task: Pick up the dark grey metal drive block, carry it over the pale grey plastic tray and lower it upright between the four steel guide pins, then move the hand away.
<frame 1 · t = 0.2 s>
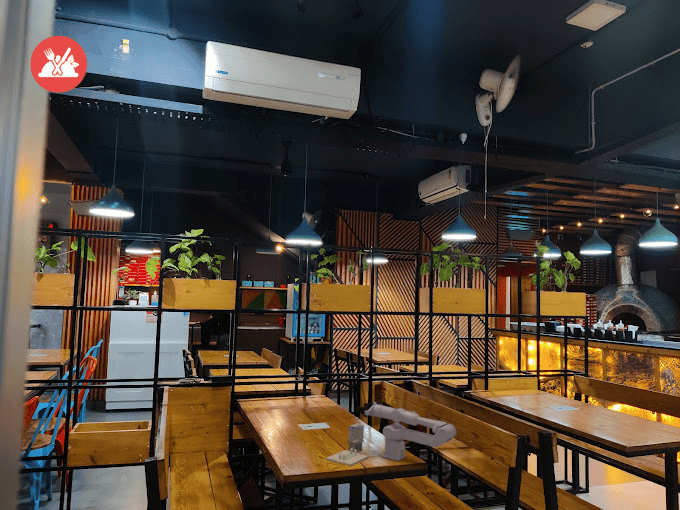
hand: (360, 407, 260), 21 cm above the table, tool horizontal, fingers open, 7 cm apart
medicine box: (355, 442, 271), on the table
drive block: (355, 451, 255), on the table
pin tray: (347, 458, 242), on the table
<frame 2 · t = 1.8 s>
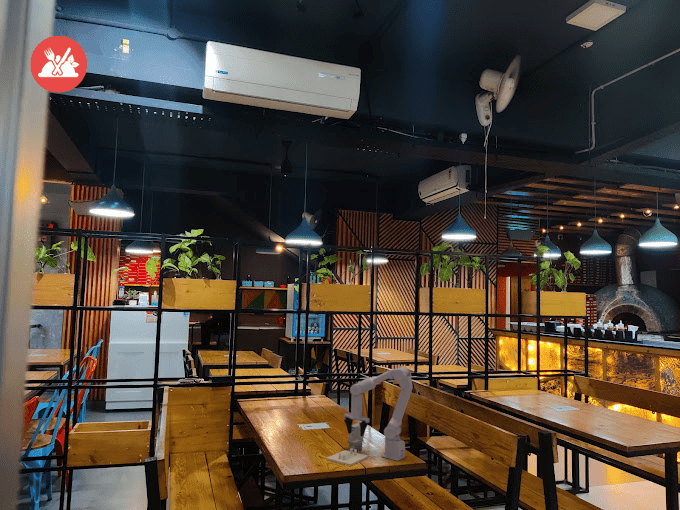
hand: (355, 434, 256), 8 cm above the table, tool pointing down, fingers open, 7 cm apart
nothing on the table moved.
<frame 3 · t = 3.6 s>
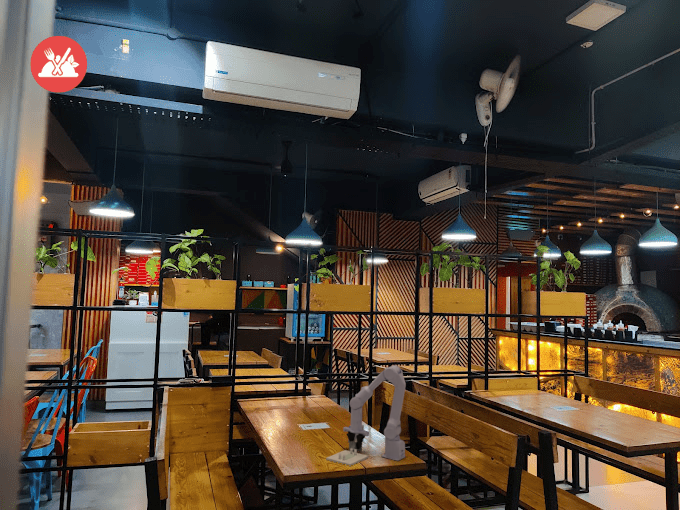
hand: (355, 448, 255), 1 cm above the table, tool pointing down, fingers closed on drive block, 3 cm apart
drive block: (355, 451, 255), on the table, touching gripper
everything else where it was.
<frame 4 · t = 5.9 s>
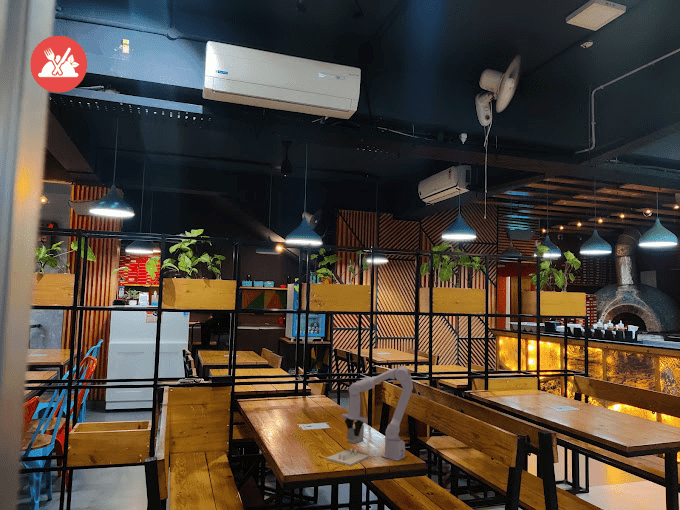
hand: (353, 434, 252), 9 cm above the table, tool pointing down, fingers closed on drive block, 3 cm apart
drive block: (353, 437, 252), point 7 cm above the table, touching gripper
everything else where it was.
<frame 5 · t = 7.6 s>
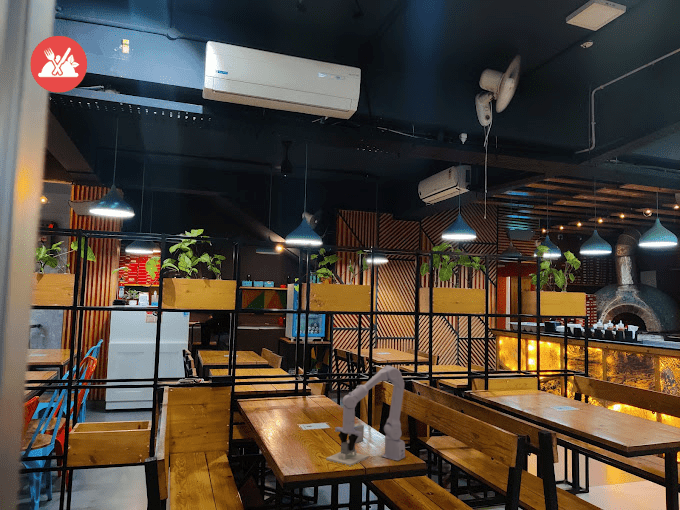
hand: (347, 449, 242), 5 cm above the table, tool pointing down, fingers closed on drive block, 3 cm apart
drive block: (347, 452, 242), point 3 cm above the table, touching gripper
everything else where it was.
when the fingers open (4 cm above the table, at t = 8.6 s): drive block drops 1 cm, resting on pin tray.
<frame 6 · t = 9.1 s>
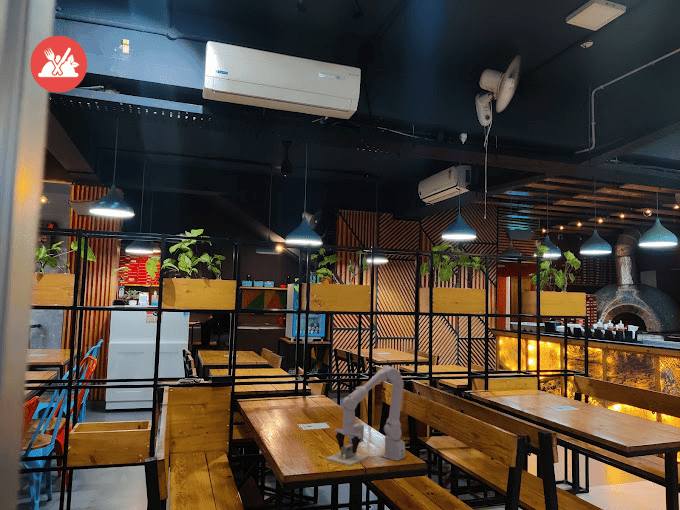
hand: (347, 451, 242), 4 cm above the table, tool pointing down, fingers open, 7 cm apart
drive block: (347, 456, 242), point 1 cm above the table, touching pin tray
everything else where it was.
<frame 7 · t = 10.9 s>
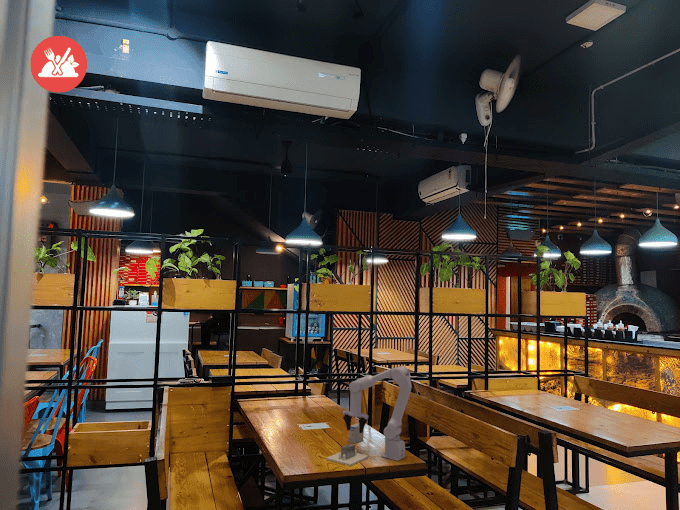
hand: (354, 431, 257), 9 cm above the table, tool pointing down, fingers open, 7 cm apart
nothing on the table moved.
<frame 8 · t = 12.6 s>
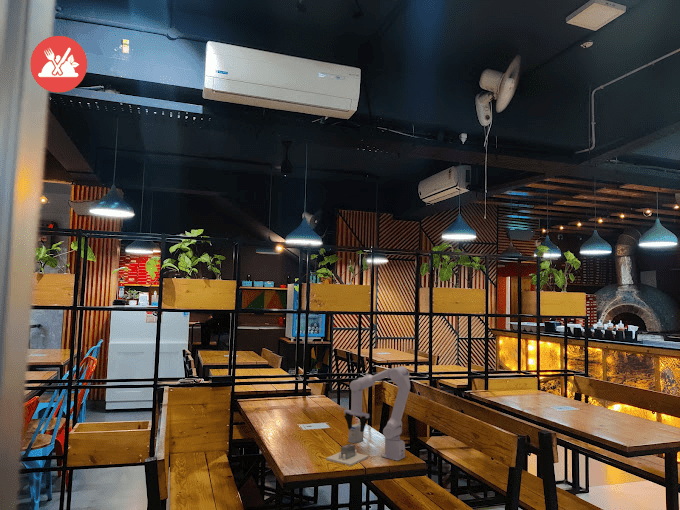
hand: (356, 430, 259), 9 cm above the table, tool pointing down, fingers open, 7 cm apart
nothing on the table moved.
at the end: drive block 0.0 cm off-centre on the pin tray, point 1.1 cm above the pin tray's base; drive block tilted 0°; the gripper is holding nothing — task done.
